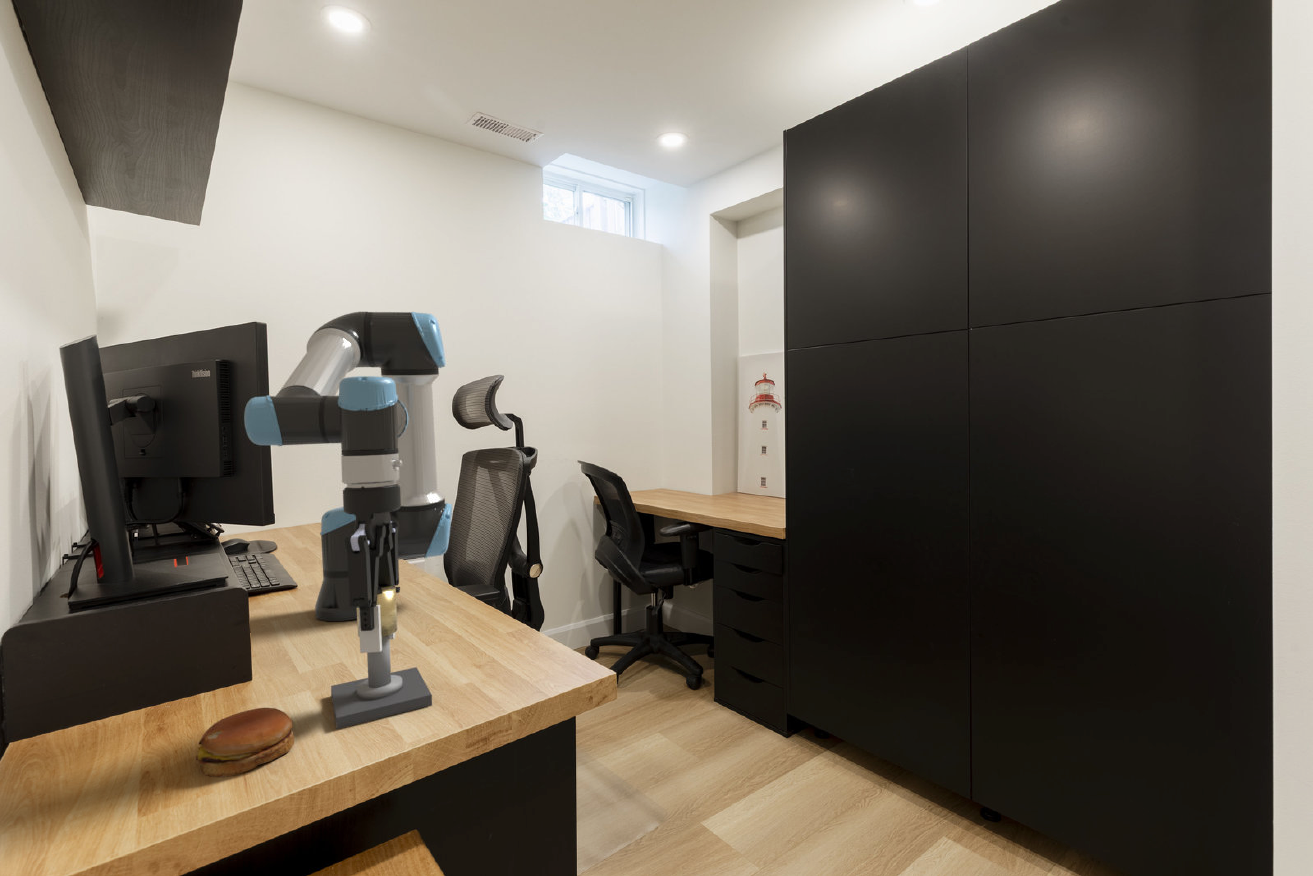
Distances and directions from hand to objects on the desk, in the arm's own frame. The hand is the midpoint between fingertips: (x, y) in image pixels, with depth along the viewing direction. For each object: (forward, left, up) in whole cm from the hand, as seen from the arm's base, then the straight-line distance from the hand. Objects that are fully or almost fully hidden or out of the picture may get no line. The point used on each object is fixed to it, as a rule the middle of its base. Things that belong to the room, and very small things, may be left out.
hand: (378, 644), depth 88 cm
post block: (0, 0, -8) cm, 8 cm away
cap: (0, 0, +2) cm, 2 cm away
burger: (+7, -16, -9) cm, 19 cm away
